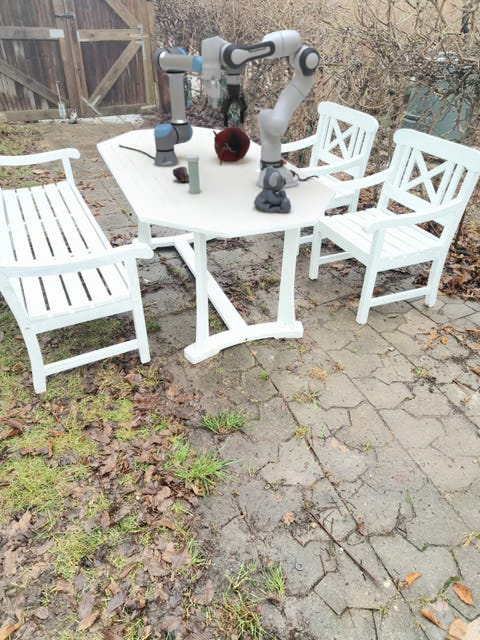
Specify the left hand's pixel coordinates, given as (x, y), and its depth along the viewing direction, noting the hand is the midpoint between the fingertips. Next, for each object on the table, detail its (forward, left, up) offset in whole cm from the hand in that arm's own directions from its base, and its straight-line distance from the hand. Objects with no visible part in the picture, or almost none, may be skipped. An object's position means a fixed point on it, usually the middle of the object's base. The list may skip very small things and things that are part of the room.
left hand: (234, 125), depth 259 cm
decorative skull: (-22, +21, -28) cm, 41 cm away
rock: (-13, -31, -28) cm, 44 cm away
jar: (+6, -39, -28) cm, 49 cm away
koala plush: (+54, -30, -28) cm, 68 cm away
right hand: (+15, -31, +15) cm, 38 cm away
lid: (+6, -39, -9) cm, 41 cm away
